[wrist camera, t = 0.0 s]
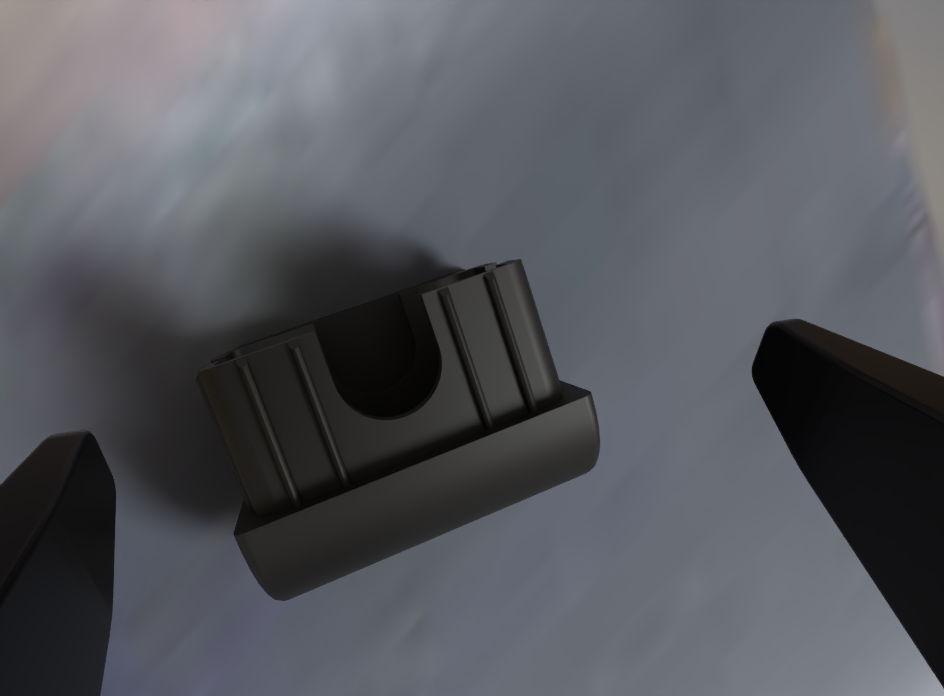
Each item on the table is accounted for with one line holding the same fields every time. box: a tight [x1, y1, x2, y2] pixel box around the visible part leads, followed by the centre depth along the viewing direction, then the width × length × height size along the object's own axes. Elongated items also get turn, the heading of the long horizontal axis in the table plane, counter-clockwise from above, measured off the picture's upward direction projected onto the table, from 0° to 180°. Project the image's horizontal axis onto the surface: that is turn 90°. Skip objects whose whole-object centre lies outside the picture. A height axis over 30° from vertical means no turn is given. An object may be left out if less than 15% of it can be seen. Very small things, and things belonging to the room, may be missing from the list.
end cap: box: [196, 259, 600, 601], centre depth 20 cm, size 10×7×7 cm
